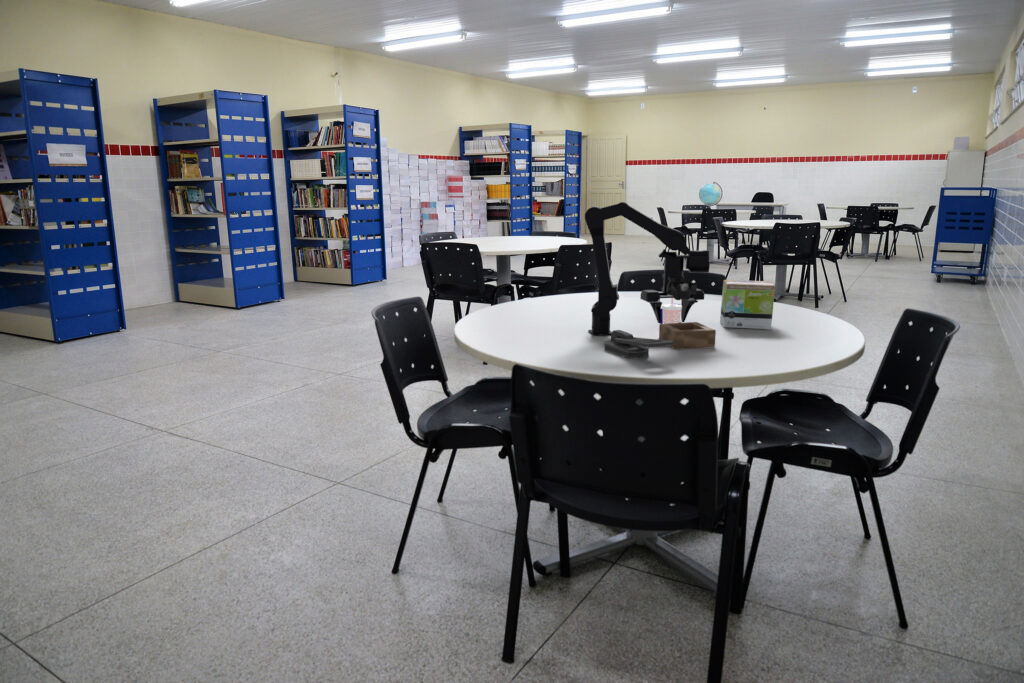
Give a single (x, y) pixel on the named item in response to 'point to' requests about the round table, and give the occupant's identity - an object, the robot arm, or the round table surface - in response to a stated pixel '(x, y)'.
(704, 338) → the walnut well block
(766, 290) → the tea box
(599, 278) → the robot arm
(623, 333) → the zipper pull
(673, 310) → the beverage cup
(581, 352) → the round table surface
